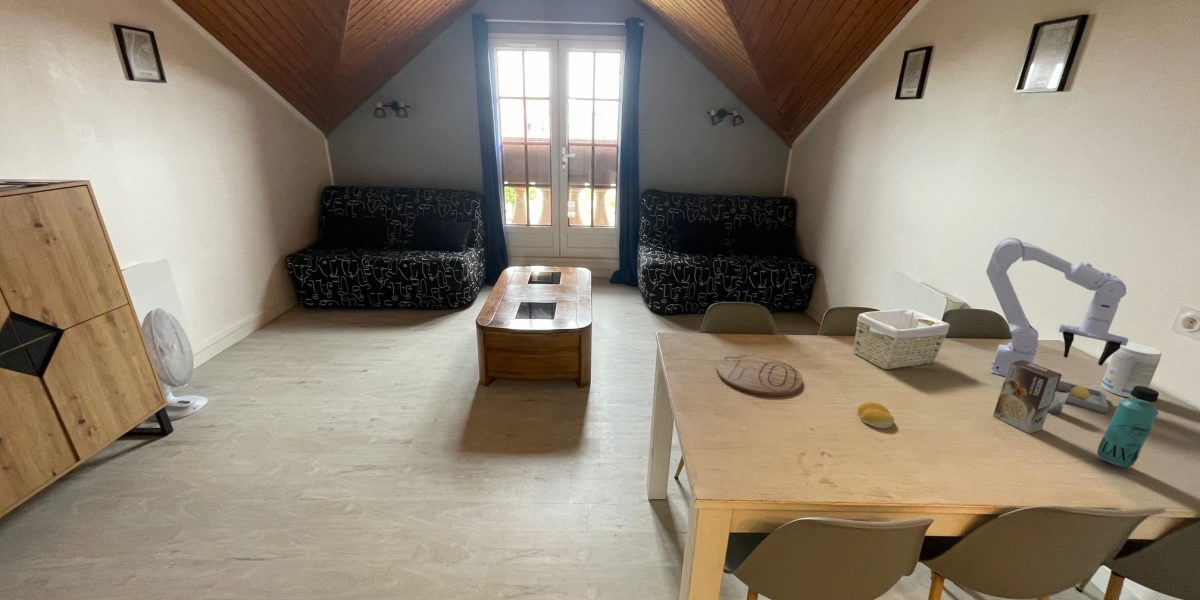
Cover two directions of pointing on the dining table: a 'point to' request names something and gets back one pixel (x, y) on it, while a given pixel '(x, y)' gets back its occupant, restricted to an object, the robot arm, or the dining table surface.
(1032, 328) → the robot arm
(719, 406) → the dining table surface
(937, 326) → the storage basket
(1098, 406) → the dish
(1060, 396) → the shaker cup
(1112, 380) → the supplement tub
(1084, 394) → the ball
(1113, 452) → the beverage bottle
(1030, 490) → the dining table surface
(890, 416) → the bread roll
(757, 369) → the trivet
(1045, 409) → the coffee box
